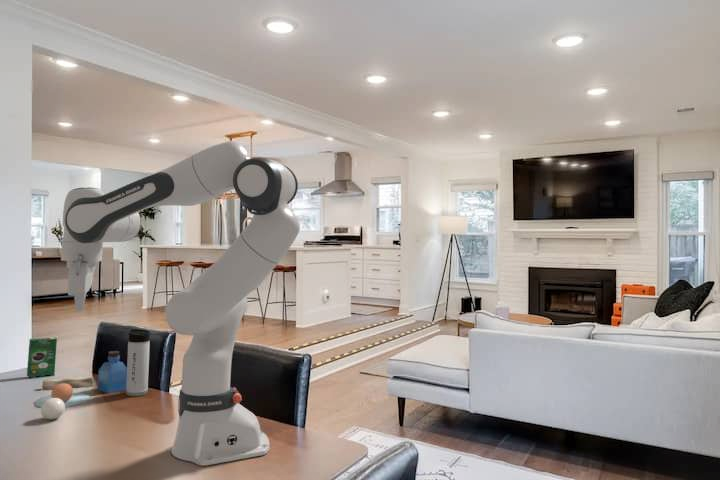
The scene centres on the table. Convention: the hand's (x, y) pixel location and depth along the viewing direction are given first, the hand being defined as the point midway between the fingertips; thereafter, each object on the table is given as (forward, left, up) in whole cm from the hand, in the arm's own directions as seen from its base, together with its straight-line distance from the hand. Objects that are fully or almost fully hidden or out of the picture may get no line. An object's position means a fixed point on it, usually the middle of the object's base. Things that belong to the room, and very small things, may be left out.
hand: (79, 310), depth 122 cm
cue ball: (+8, -15, -28) cm, 33 cm away
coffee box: (+22, -60, -31) cm, 71 cm away
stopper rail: (+11, -45, -31) cm, 55 cm away
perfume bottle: (-3, -40, -31) cm, 51 cm away
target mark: (+9, -31, -31) cm, 45 cm away
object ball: (+9, -29, -28) cm, 41 cm away
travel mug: (-11, -34, -31) cm, 47 cm away
